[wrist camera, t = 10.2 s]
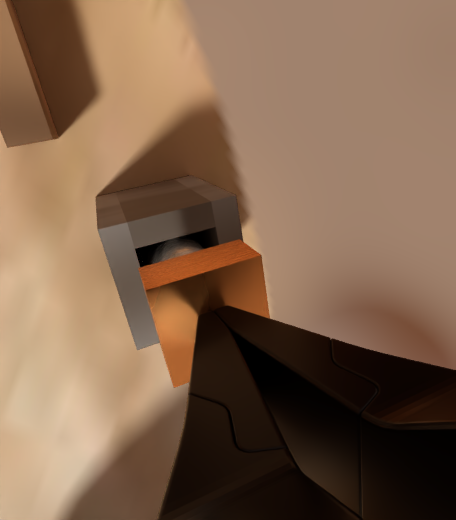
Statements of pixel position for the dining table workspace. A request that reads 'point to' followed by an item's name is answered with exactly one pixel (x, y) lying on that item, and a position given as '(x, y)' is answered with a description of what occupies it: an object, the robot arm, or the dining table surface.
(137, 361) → the dining table surface
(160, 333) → the orange handled peg
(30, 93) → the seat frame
